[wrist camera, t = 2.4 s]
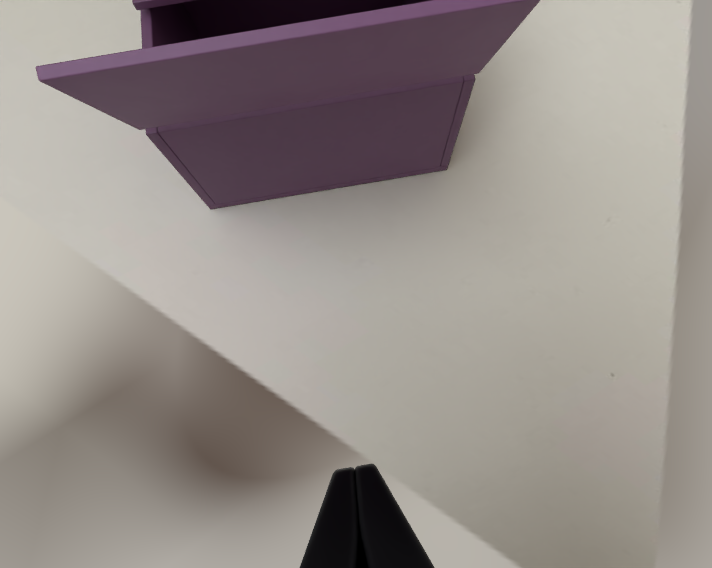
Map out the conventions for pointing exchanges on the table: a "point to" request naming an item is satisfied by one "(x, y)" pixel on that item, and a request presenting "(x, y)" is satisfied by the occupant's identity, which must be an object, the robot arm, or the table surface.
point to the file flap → (291, 62)
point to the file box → (300, 115)
